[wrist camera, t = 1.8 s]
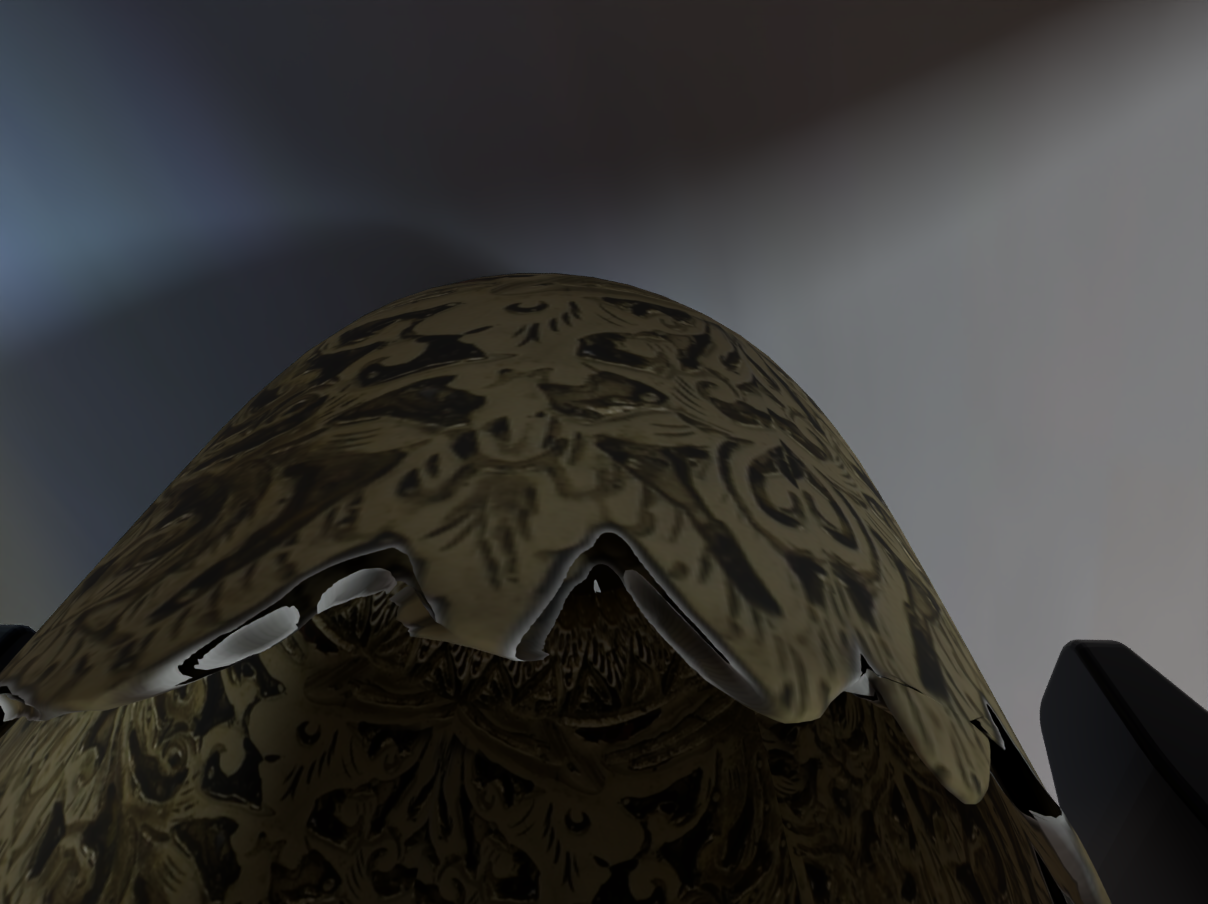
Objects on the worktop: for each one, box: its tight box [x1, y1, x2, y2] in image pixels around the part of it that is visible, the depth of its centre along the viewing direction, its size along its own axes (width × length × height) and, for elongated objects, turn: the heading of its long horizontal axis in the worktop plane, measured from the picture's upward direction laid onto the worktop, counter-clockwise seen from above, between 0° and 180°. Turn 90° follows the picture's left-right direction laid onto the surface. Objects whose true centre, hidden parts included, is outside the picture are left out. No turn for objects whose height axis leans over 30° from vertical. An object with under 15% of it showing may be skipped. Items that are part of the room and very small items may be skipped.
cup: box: [0, 273, 1111, 904], centre depth 9 cm, size 7×7×8 cm
